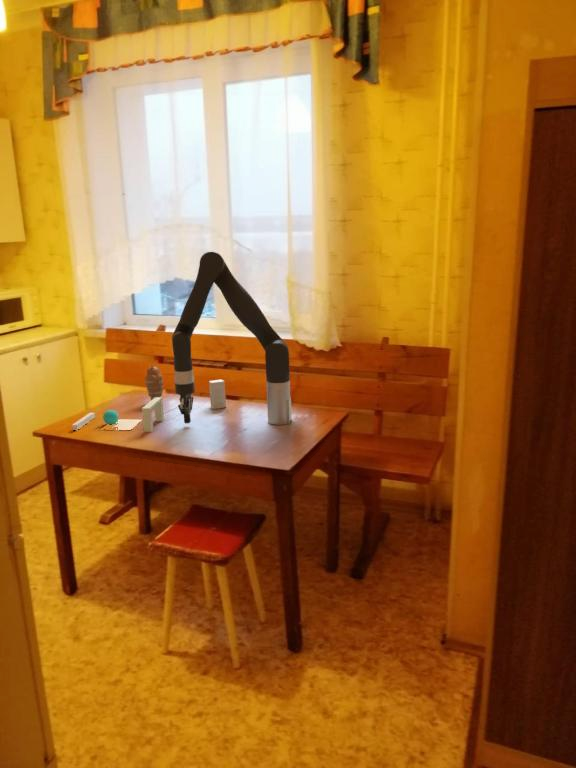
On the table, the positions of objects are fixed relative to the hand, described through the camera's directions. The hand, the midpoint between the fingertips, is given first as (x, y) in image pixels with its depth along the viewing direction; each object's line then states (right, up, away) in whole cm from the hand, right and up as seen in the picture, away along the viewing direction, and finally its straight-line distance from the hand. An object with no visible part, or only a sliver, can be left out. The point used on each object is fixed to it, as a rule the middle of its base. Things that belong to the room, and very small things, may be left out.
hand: (187, 422), depth 239 cm
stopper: (-44, -1, +6) cm, 44 cm away
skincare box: (+10, +5, +25) cm, 27 cm away
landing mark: (-28, -1, +4) cm, 28 cm away
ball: (-32, +2, +5) cm, 33 cm away
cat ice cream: (-20, +6, +32) cm, 38 cm away
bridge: (-14, -1, +2) cm, 14 cm away
